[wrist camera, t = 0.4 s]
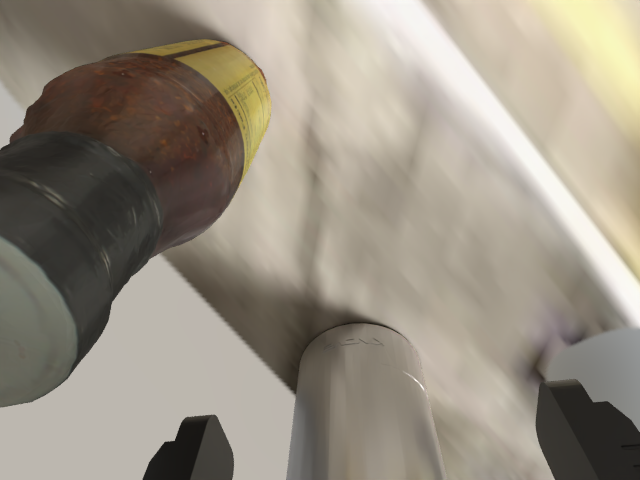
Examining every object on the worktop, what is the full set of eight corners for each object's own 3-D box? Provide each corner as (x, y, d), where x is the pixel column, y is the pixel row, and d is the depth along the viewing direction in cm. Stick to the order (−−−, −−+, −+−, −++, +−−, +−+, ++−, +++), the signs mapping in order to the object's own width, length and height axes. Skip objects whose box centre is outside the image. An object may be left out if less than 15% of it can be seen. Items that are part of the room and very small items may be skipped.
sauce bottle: (155, 130, 25) (-288, 395, 7) (177, 18, 22) (-447, 5, 5) (262, 170, 26) (95, 493, 8) (296, 66, 23) (154, 213, 5)
